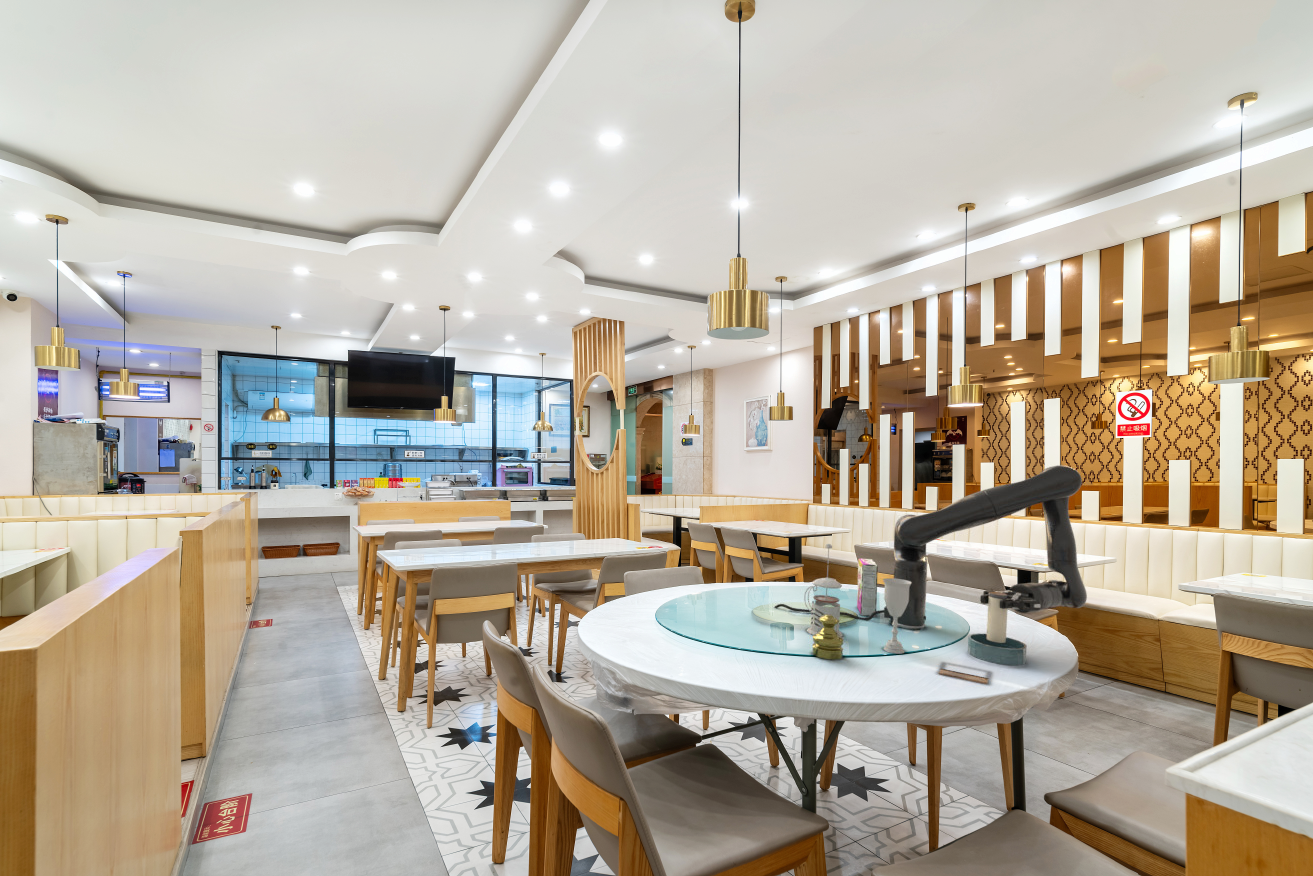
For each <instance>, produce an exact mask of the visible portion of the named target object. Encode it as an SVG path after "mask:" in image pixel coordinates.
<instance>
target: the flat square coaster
mask: <svg viewBox="0 0 1313 876" xmlns="http://www.w3.org/2000/svg"><path fill="white" fill-rule="evenodd" d="M938 675H940V676H946V677H950V678H955V679H959V680H965V681H970V682H975V683H978V684H984V685H988V682H989V678H988V677H984V676H980V675H975V674H970V673H965V672H961V671H957V670H951V669H946V668H940V669H939V671H938Z"/></svg>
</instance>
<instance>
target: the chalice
mask: <svg viewBox="0 0 1313 876" xmlns="http://www.w3.org/2000/svg"><path fill="white" fill-rule="evenodd" d="M882 581H883V583H884V593H883V599H884V603H885V606H886V607H887V609H888V611H889V614H890V615H891V616H893V619H894V620H893V623H892V625H891V626H892V630H891V634H892V637H891V639H888V640H887V641H886V643H885V646H884V647H883V650H884V651H885V652H887V653H890V654H899V655H901V654H904V653H905V650H904V647H903V645H902V642H901V641H899V640H898V638H897V636H898V634H899V630H898V623H897V619H898V617H900V616H902V614H903V612H904V611H905V609H906V607H907V604H908V602H909V587H910V585H911V582H910V581H907V580H902V579H894V577H893V578H891V577H890V578H883V579H882Z"/></svg>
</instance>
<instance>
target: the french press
mask: <svg viewBox="0 0 1313 876" xmlns="http://www.w3.org/2000/svg"><path fill="white" fill-rule="evenodd" d="M825 548H826V549H827V563H829V560H830V559H829V558H830V549H832V548H833V545H832V544H831V543H826V544H825ZM826 569H827V571H826V577H821V578H816V579H814V580H813V581H812V584H813V585H811V586H809V587H808V588H806V590H805V592H804V600H803V601H804V604H805V608H806V609H807V610H809V611H811V610H812V611H811V612H810V613H811V616H810V617H811V618H810V627H808V628H807V630H806V632H807V633H808V634H810V635H812V636H814V634H816V633H819V631H820V630H821V629H823V625H822V623H821V622H820V621H819V618H820V617H822V616H825V615H826V614H830V615H833V617H836V618H837V619H838V620H839V621H840V618H841V615H840V612H841V604H840V603H838V602H840V599H839V597H837V596H832V595H828V589H835V590H837V589H841V588H843V584H841V583H840V582H839V581H837V580H835V579H833V578H830V577H829V566H827V568H826ZM818 587H819V588H824V589H825V590H826V592H825V595H824V594H816V595H813V596H812V598H813V599H814V600H813V601H811V603H810V598H809V597H810V591H811V590H812V591H813V592H816V591H818ZM806 594H807V602H806ZM807 603H808V605H807ZM808 606H809V607H808ZM834 630H835V631H836V632H837V633H838V635H839V636H840V637H842V638H843V636H844V635H843V633H842V632H841V631H840V622H839V623H838V624H837V625H836V626H835V627H834Z"/></svg>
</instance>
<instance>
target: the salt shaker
mask: <svg viewBox="0 0 1313 876" xmlns="http://www.w3.org/2000/svg"><path fill="white" fill-rule="evenodd" d="M819 621H820V622H821V623H822V625H823V629H821V630H820V631H819V633H816V634H814V635H812V641H813V644H812V645H811V646H812V652H811V653H812V655H814V656H815V657H817V658H819V659H821V660H822V659H823V660H831V661H837V660H840V659H843V656H844V648H843V647H842V646H843V645H844V642H845V641H844V639H843V636H842V637H840V636H839V635H838V633H837V632H836V631H835V630H834V627H835V626H836V625H837V624H838V623H839V624H840V620H838V619H837V618H836V617H833V615H830V614H824V615H823V616H822V617H820V618H819Z"/></svg>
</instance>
